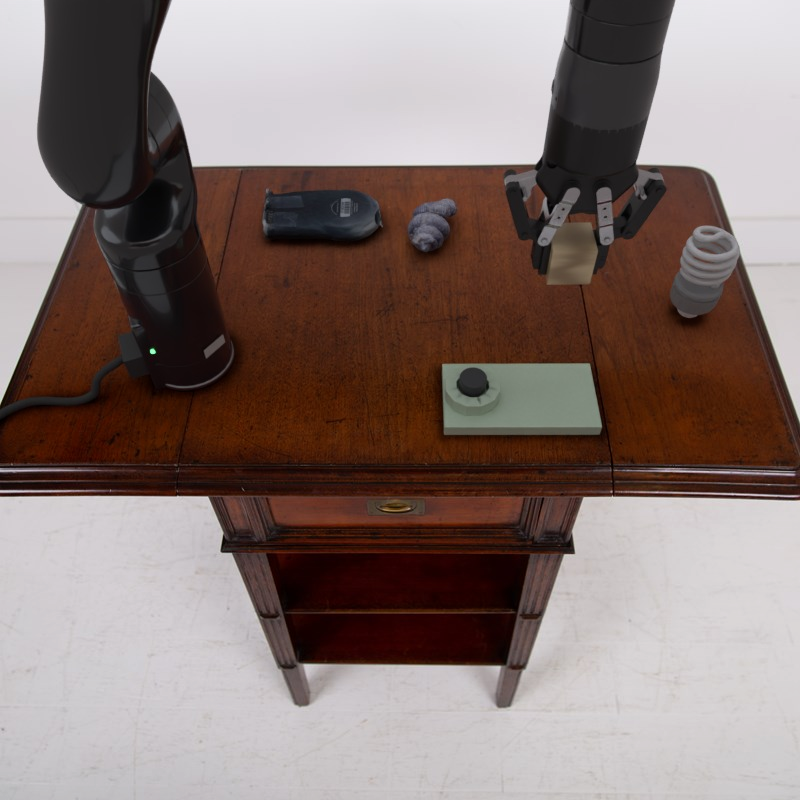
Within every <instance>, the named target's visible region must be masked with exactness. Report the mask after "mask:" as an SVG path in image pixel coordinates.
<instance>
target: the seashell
mask: <svg viewBox="0 0 800 800" xmlns="http://www.w3.org/2000/svg"><path fill="white" fill-rule="evenodd" d="M457 213H458V206H457V204H456V201H455V200H453V199H451V198H449V197H448V198H446V197H445V198H443V199H440V200H437V201H436V200H434V201H428V202H424V203H422V204H420V205H417V206H416V207H415V209H414V210H413V211H412V219H411V220H410V221H409V222H408V224H407V234H408V237H409V240H410V242H411V244H412V245H414V246H415V248H416V249H417V250H418V251H420V252H423V253H428V252H433V251H434V250H436V249H439V248H441V247H442V246H443V244H444V241H446V240H447V238H448V237H449V235H450V233H451V229H450V224H449V223H448V221H447V220H446V218H447V219H448V218H451V217H453V216H456V215H457Z"/></svg>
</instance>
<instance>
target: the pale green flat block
mask: <svg viewBox="0 0 800 800" xmlns="http://www.w3.org/2000/svg"><path fill="white" fill-rule="evenodd" d="M471 367H475V368H479V369H481V370H483V371H484V372H485V373H486V375H487V384H486V390H485V392H484V393H483V394H482V395H480V396H478V397H469V396H466V395H464V394H463V393H462V392H461V391H460V389H459V380H460V374H461V372H462V371H463V370H465V369H467V368H471ZM593 378H594V377H593V373H592V369H591V364H590V363H584V362H583V363H577V362H576V363H574V362H573V363H442V365H441V383H442V384H441V386H442V388H441V389H442V414H443V415H442V416H443V417H442V419H443V435H444V436H557V435H558V436H600V435H601V432H602V429H603V425H602V419H601V414H600V407H599V404H598V403H599V402H598V398H597V394H596V388H595V383H594V379H593Z"/></svg>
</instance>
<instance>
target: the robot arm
mask: <svg viewBox="0 0 800 800" xmlns="http://www.w3.org/2000/svg"><path fill="white" fill-rule="evenodd" d="M172 2H173V0H43V8H44V9H43V10H44V11H43V13H44V47H43V62H42V73H41V82H40V83H41V84H40V92H39V103H38V113H37V123H36V140H37V146H38V151H39V154H40V158H41V160H42V162H43V165H44V167H45V169H46V170H47V173H48V174H49V176H50V177H51V179H52V180H53V182H54V183H55V184H56V185H57V186H58V187H57V188H59V189H60V190H61V191H62V192H63V193H64V194H65V195H67V196H68V197H69V198H70V199H72V200H73V201H75V202H76V203H78V204H80V205H82V206H84V207H87V208H90V209H93V210H95V211H94V216H93V232H94V236H95V240H96V243H97V245H98V246H99V249H100V251H101V253H102V256H103V258H104V261H105V264H106V265H107V268H108V270H109V273H110V275H111V278H112V280H113V283H114V285H115V287H116V290H117V292H118V294H119V297H120V299H121V301H122V303H123V306H124V309H125V312H126V315H127V320H128V323H129V327H130V330H131V331H129V332H124V333H121V334H118V335H117V339H118V344H119V349H120V355H118V356H117V357H116V358H114V359H112V360H111V361H109V362H107V363H106V364H105V365H104V366H102V367H101V368H100V369H99V370H98V371H97V372H96V373H95V374H94V376H93V377H92V380H91V385H90V391H88V392H87V393H85V394H82V395H80V396H74V397H73V396H72V397H59V396H33V397H32V396H31V397H26V398H23V399H20V400H17V401H14V402H12V403H9V404H8V405H6V406H3V407H2V408H0V421H1V420H3V419H4V418H6V417H7V416H9V415H11V414H13V413H15V412H18V411H20V410H23V409H26V408H29V407H34V406H64V407H65V406H66V407H69V406H71V407H72V406H80V405H85V404H88V403H90V402H92V401H93V400H95V399H96V398H97V397H98V396H99V395H100V392H101V387H102V386H101V384H102V381H103V380H104V379H105V377H106V376H108V375H109V374H110V373H112V372H113V371H114V370H116V369H117V368H119V367H120V366H122V365H123V364H124V367H125V368H126V371H127V373H128V375H129V378H130V379H131V380H134V379H137V378H140V377H144V376H147V375H148V376H149V375H150V378H151V381H152V382H153V385H154V388H155V390H158V391H159V390H163V389H169V390H173V391H180V392H181V391H182V392H186V391H187V392H190V391H196V390H200V389H203V388H206V387H209V386H211V385H213V384H215V383H216V382H218V381H219V380H221V379H222V378H223V377H224V376H225V375H226V374H227V373H228V372H229V371H230V369H231V367H232V365H233V364H234V360H235V347H234V344H233V341H232V337H231V335H230V332H229V329H228V326H227V322H226V319H225V315H224V311H223V308H222V304H221V300H220V297H219V292H218V289H217V286H216V283H215V280H214V279H215V278H214V275H213V271H212V269H211V265H210V261H209V258H208V254H207V251H206V247H205V243H204V240H203V239H204V238H203V236H202V232H201V229H200V225H199V221H198V204H199V203H198V202H199V201H198V197H199V195H198V185H197V181H196V177H195V172H194V168H193V167H194V166H193V162H192V158H191V154H190V149H189V144H188V140H187V136H186V131H185V127H184V124H183V120H182V117H181V114H180V111H179V109H178V106H177V104H176V102H175V100H174V98H173V96H172V94H171V93H170V91H169V89H168V88H167V87H166V85H165V84H164V83H163V81H162V80H161V79H160V78H159V77H158V76H157V75H156V74H155V73H154V72H153V71H152V67H153V61H154V57H155V53H156V49H157V47H158V43H159V40H160V37H161V34H162V31H163V28H164V25H165V22H166V19H167V17H168V13H169V11H170V7H171V5H172ZM675 4H676V0H569V4H568V11H567V18H566V24H565V30H564V36H563V41H562V44H561V48H560V52H559V55H558V58H557V62H556V67H555V71H554V72H555V73H554V77H553V79H552V81H551V82H552V83H551V88H550V92H551V98H550V105H549V111H548V112H549V113H548V119H547V125H546V131H545V136H544V137H545V139H544V145H543V150H542V154H541V156H540V159H539V160H538V161H537V162H536V164H535V165H534V169H530V170H527V171H524V172H521V173H518V171H516V170H515V169H507V170H506V171H504V172H503V175H502V176H503V183H504V191H505V196H506V200H507V203H508V206H509V207H508V208H509V209H510V213H511V217H512V220H513V224H514V227H515V230H516V234H517V238H518V239H519V240H520V241H523V242H525V241H526V242H527V241H528V240H531V241H532V245H531V250H530V260H531V264H532V265H531V266H532V268H533V270H534V271H535V270H537V275H538V276H545V275H546V274H547V268H548V263H549V257H550V252H551V241H552V239H553V237H554V235H555V233H556V231H557V229H558V228H561V227H562V225H563V223H565V222H566V219H567V217H568V216H572V215H577V214H586V215H589V216H590V215H594V219H595V220H594V221H595V229H593V233H594V237H595V241H596V245H597V249H598V253H597V257H596V261H595V266H594V270H593V274H592V275H597V273H598V270H602V269H603V268H604V266H605V265H606V262H607V259H608V254H609V250H610V246H611V244H613V242H614V241H615V240H617V239H621V238H622V239H623V240H626V241H627V240H632V239H633V238H634V237H635V236H636V235H637V234H638V232H639V231H640V229H641V228H642V226H643V225H644V224H645V222H646V221H647V220H648V218H649V217H650V216H651V214H652V213H653V211H654V209H655V208H656V207H657V206H658V204H659V202H660V201H661V200H662V199H663V197H664V195H665V194H666V192H667V186H666V183H665V182H666V181H665V180H664V177H663V175H662V173H661V170H660V169H659V168H658V167H651V168H649V169H648V170H644V169H641V168H638V166H637V160H638V158H639V155H640V152H641V151H640V150H641V148H642V143H643V140H644V135H645V131H646V129H647V125H648V120H649V117H650V113H651V111H652V105H653V102H654V99H655V94H656V91H657V87H658V84H659V78H660V72H661V65H662V55H663V51H664V45H665V42H666V38H667V35H668V32H669V31H668V30H669V27H670V23H671V19H672V16H673V12H674V8H675ZM536 186H537V187H538V188H539V189H540V191H541V192H542V194H543V195H544V198H543V201H542V205H541V209H540V211H539V213H538V215H537V217H536V218H533V217H530V215H529V212H528V208H527V204H526V202H527V201H528V200H529V199H530V197H531V196H532V190H533V188H534V187H536ZM631 188H632V189H633V192H632V193H631V194H630V196H629V198H628V199H627V201H626V202H625V204H624V205H623V207H622V208H621V210H620V211H619V213H618V214H617V216H616V217H614V214H613V213H614V212H613V204H614V203H615V202H617V200H618V199H619V198H620V197H622V196H624V194H625V193H626V192H627V191H628V190H629V189H631Z"/></svg>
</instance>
